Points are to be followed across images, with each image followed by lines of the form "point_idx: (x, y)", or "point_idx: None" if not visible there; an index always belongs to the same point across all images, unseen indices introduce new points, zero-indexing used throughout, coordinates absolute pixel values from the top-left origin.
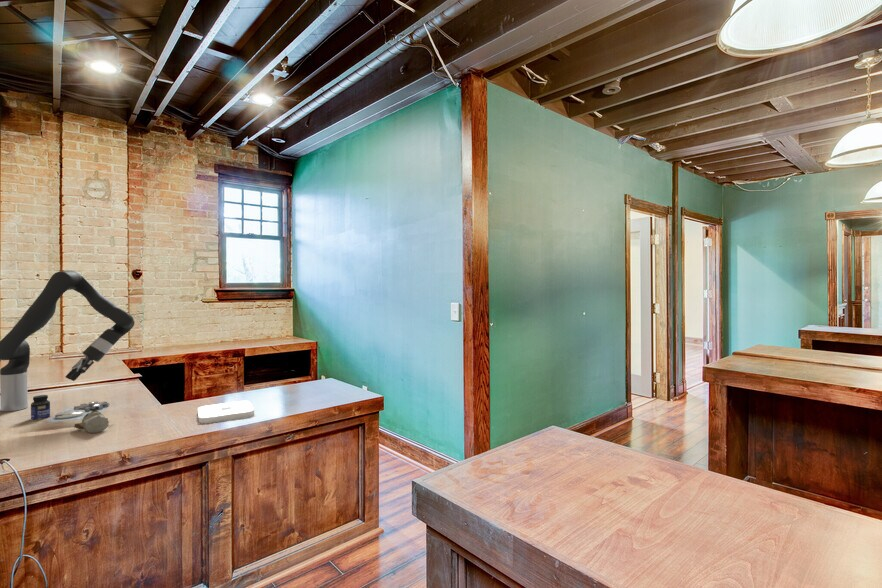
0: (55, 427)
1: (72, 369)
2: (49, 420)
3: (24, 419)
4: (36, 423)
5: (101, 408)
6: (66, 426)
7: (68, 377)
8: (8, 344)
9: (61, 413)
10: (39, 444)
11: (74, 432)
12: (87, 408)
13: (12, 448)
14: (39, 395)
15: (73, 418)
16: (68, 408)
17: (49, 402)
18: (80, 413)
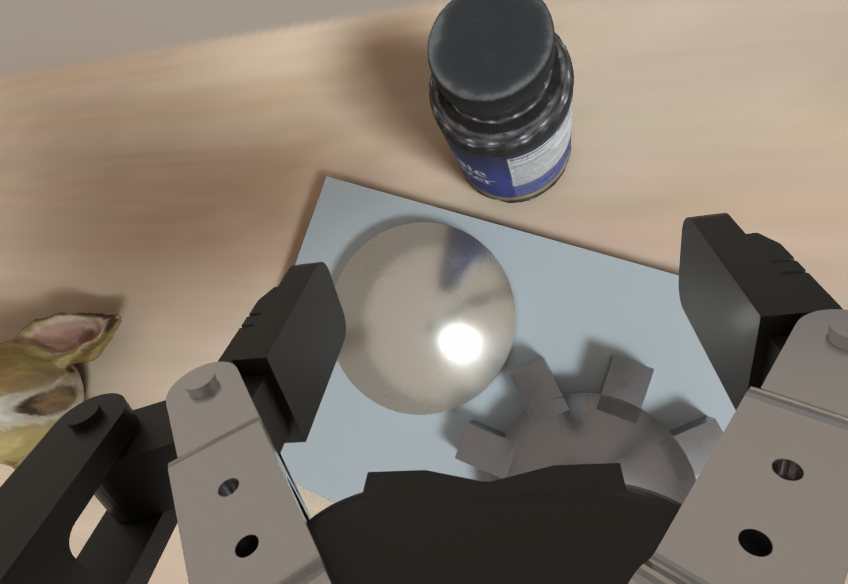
0: (268, 233)
1: (790, 332)
2: (378, 196)
3: (690, 50)
4: None
5: None
6: (243, 286)
7: (686, 269)
8: None
9: (450, 261)
10: (14, 175)
11: (86, 312)
12: (461, 439)
13: (40, 85)
14: (544, 25)
15: None
16: None
17: (475, 149)
18: (346, 374)
